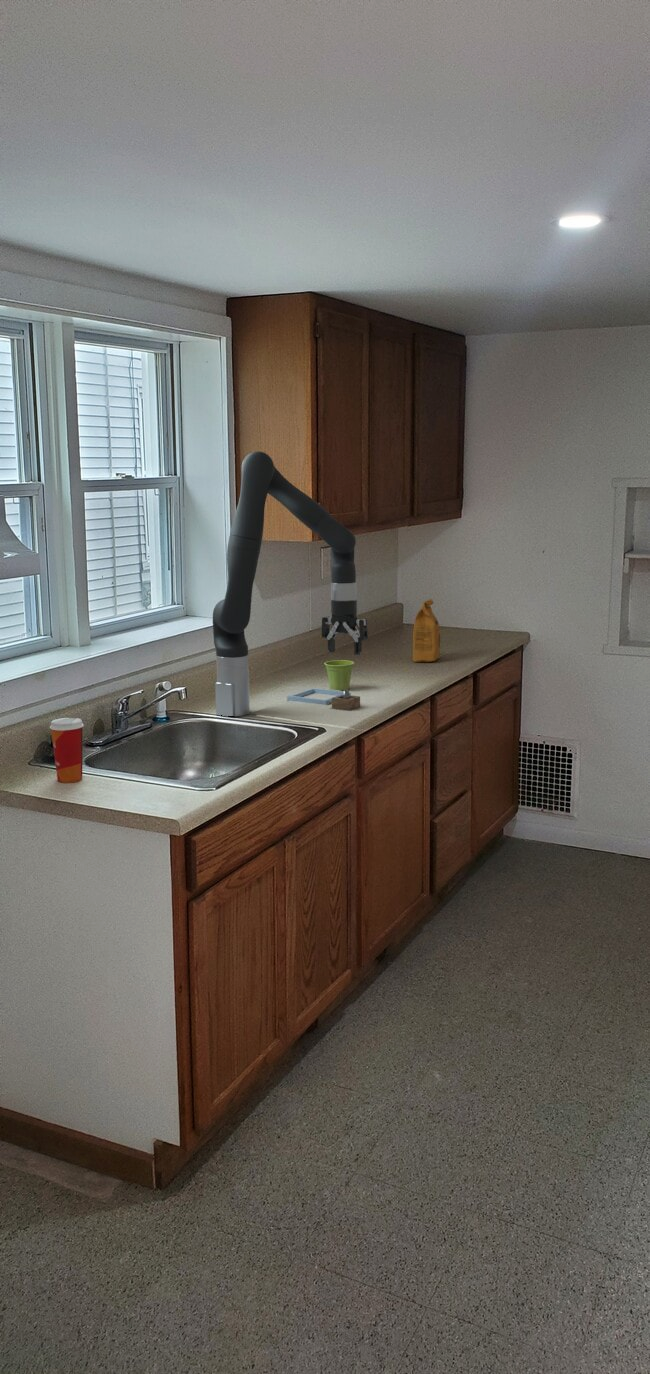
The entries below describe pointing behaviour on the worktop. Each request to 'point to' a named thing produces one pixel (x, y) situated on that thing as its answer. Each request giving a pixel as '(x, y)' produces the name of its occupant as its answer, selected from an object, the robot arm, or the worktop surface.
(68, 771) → the paper cup
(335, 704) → the brown hollow rectangular frame
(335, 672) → the plant pot
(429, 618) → the coffee package
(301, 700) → the tray
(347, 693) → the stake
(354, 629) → the robot arm
